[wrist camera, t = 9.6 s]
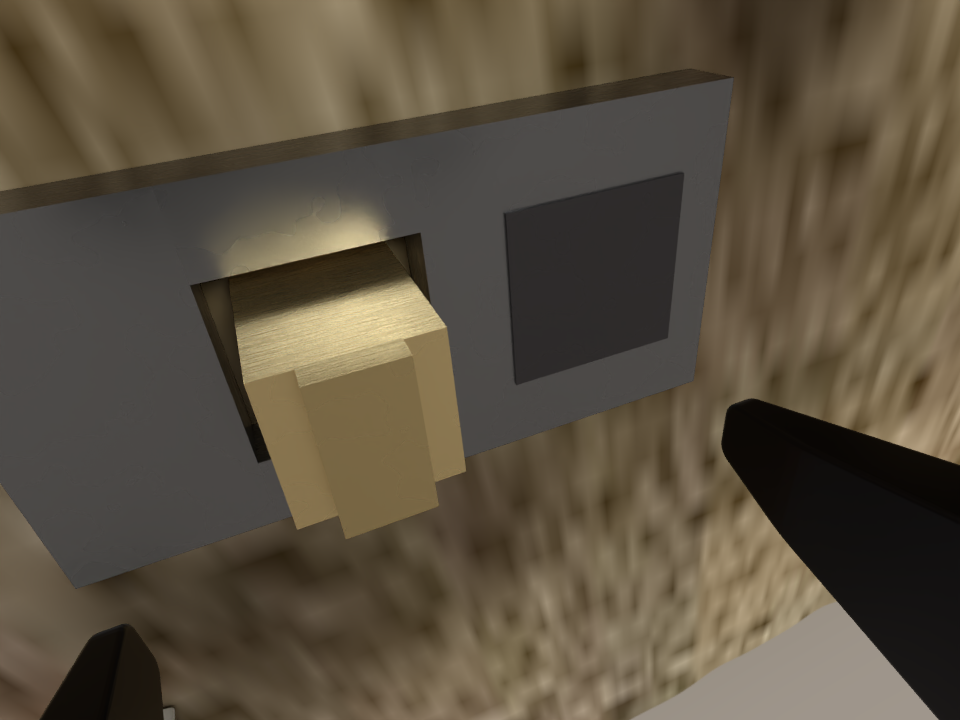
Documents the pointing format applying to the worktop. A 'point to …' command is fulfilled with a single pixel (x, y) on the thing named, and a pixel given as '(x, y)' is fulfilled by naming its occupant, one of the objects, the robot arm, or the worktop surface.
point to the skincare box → (169, 713)
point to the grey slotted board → (330, 228)
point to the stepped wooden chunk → (349, 386)
